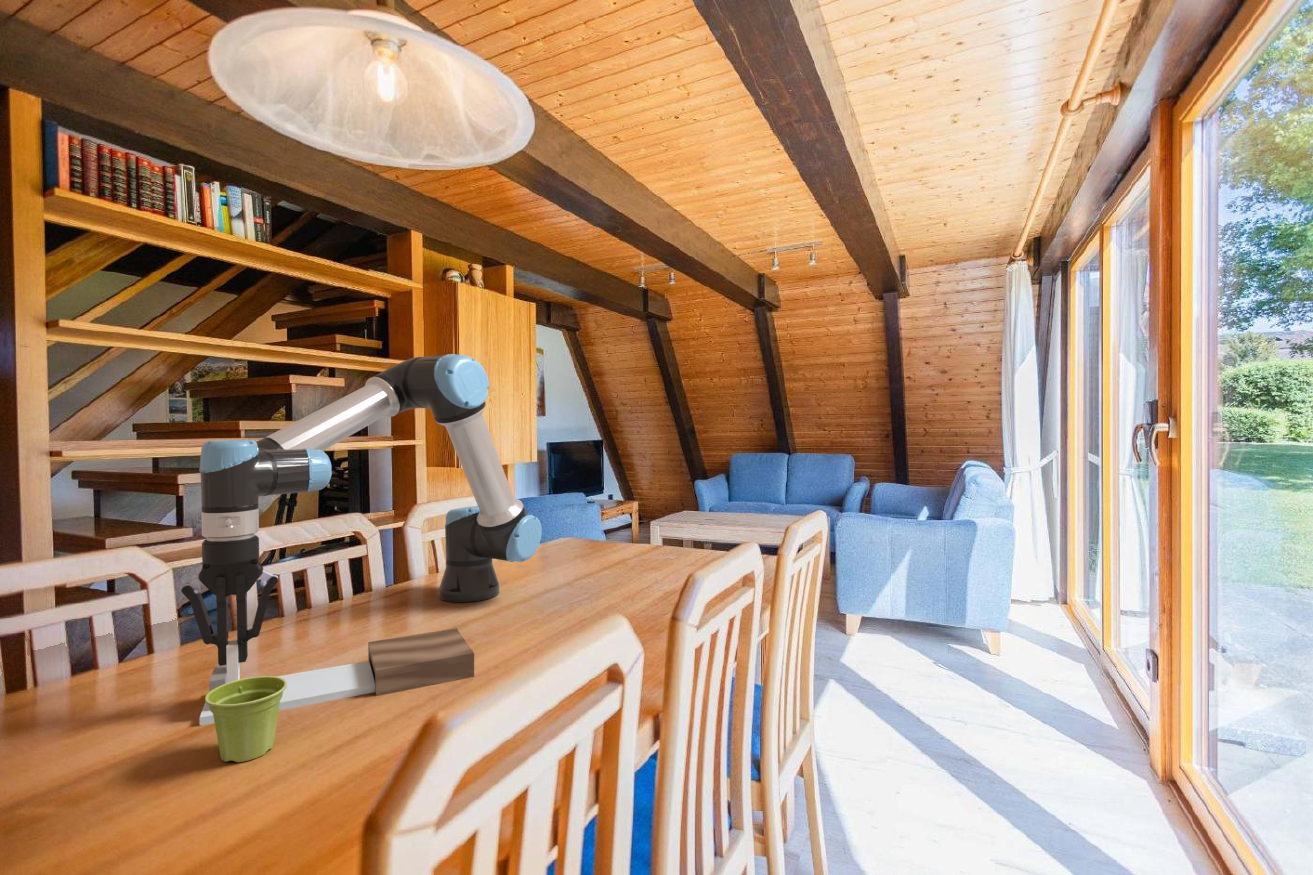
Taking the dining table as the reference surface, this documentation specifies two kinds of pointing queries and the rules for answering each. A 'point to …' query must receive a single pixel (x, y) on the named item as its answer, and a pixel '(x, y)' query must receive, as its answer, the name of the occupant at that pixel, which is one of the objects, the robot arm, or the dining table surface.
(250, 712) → the plant pot
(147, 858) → the dining table surface
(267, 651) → the dining table surface
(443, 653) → the walnut case
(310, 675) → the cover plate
